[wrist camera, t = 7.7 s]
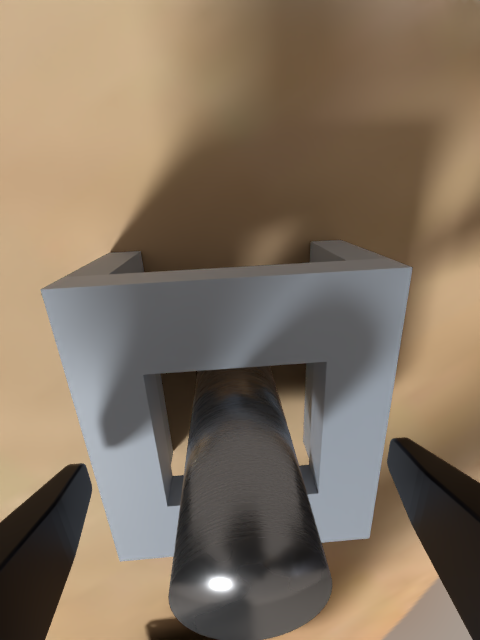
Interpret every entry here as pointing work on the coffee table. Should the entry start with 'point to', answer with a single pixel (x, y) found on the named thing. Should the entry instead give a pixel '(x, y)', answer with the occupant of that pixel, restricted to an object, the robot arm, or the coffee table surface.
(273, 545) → the long pin
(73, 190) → the coffee table surface
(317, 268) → the frame
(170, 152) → the coffee table surface
